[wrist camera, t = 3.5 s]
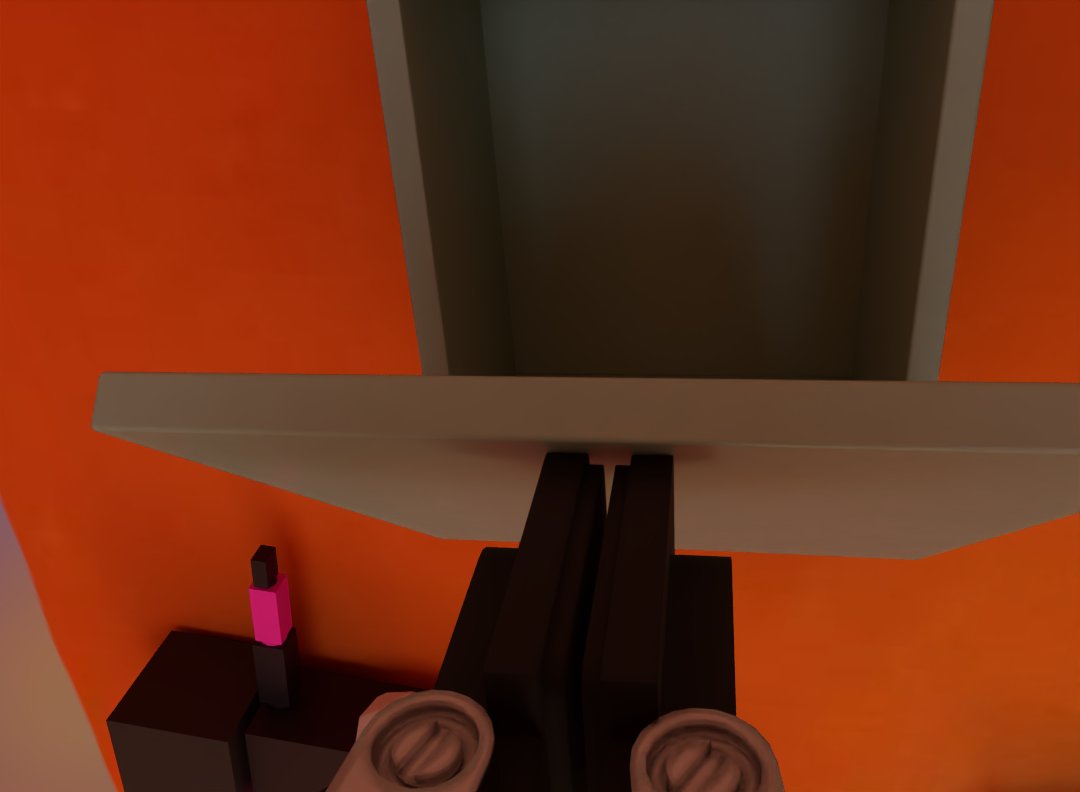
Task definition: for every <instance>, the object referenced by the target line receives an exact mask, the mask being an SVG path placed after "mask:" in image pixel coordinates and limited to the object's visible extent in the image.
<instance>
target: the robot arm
mask: <svg viewBox="0 0 1080 792" xmlns="http://www.w3.org/2000/svg"><path fill="white" fill-rule="evenodd" d="M319 792H785V790H784V786H783V782H782V778H781V774H780V770H779V767H778V763H777V760H776V758H775V756H774V753H773V751H772V749H771V747H770V745H769V743H768V742H767V741H766V740H765V738H764V737H763V736H762V735H761V734H760V733H759V732H758V731H757V730H756V729H755V728H754V727H753V726H751V725H750V724H748V723H746V722H745V721H743V720H741V719H740V718H738V717H737V716H736V695H735V660H734V625H733V590H732V560H731V557H719V556H695V555H675V528H674V458H673V456H663V455H632V457H631V463H630V465H616V466H615V471H614V477H613V483H612V489H611V495H610V501H609V507H608V513H607V506H606V486H605V470H604V465H596V464H590V460H589V456H588V454H578V453H547V454H546V456H545V459H544V462H543V465H542V469H541V472H540V476H539V479H538V483H537V486H536V489H535V493H534V496H533V500H532V503H531V507H530V510H529V514H528V517H527V520H526V524H525V527H524V531H523V534H522V538H521V541H520V544H519V548H497V547H486V548H484V549H483V550H482V552H481V555H480V557H479V559H478V562H477V565H476V568H475V571H474V574H473V577H472V580H471V582H470V585H469V588H468V591H467V594H466V597H465V600H464V603H463V606H462V609H461V611H460V614H459V617H458V620H457V623H456V626H455V629H454V632H453V635H452V637H451V640H450V643H449V646H448V649H447V652H446V655H445V658H444V661H443V664H442V666H441V669H440V672H439V675H438V678H437V681H436V684H435V687H434V690H428V691H423V692H417V693H412V694H409V695H407V696H404V697H402V698H400V699H397V700H395V701H393V702H391V703H390V704H388V705H387V706H386V707H384V708H383V709H382V710H380V711H379V712H377V713H376V714H375V715H374V717H373V718H372V719H371V720H370V721H369V723H368V724H367V725H366V726H365V728H364V729H363V730H362V732H361V734H360V735H359V737H358V739H357V740H356V742H355V744H354V745H353V747H352V749H351V750H350V752H349V754H348V755H347V757H346V759H345V760H344V762H343V764H342V765H341V767H340V769H339V770H338V772H337V774H336V775H335V777H334V779H333V780H332V782H331V784H330V785H329V786H328V787H326V788H325V789H323V790H321V791H319Z"/></svg>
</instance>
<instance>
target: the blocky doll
mask: <svg viewBox="0 0 1080 792" xmlns="http://www.w3.org/2000/svg"><path fill="white" fill-rule="evenodd" d="M251 567H252V575H253V583H252V584H251V586H250V587H249V595H250V602H251V610H252V617H253V625H254V632H255V641H254V643H253V644H249V643H243V642H237V641H231V640H225V639H219V638H213V637H207V636H201V635H195V634H190V633H184V632H178V631H172V630H171V632H170V633H169V635H168V636H167V637H166V639H165V640H164V641H163V643H162V644H161V646H160V647H159V648H158V650H157V651H156V652H155V654H154V655H153V657H152V658H151V659H150V661H149V662H148V664H147V665H146V666H145V668H144V669H143V670H142V672H141V673H140V675H139V676H138V677H137V679H136V680H135V681H134V683H133V684H132V686H131V687H130V688H129V690H128V691H127V692H126V694H125V695H124V697H123V698H122V699H121V701H120V702H119V703H118V705H117V706H116V708H115V709H114V710H113V712H112V713H111V714H110V716H109V717H108V719H107V720H106V721H107V725H108V729H109V733H110V737H111V741H112V745H113V749H114V753H115V756H116V760H117V764H118V768H119V772H120V776H121V780H122V784H123V788H124V791H125V792H319V791H321V790H323V789H325V788H326V787H328V786H329V785H330V784H331V782H332V780H333V779H334V777H335V775H336V774H337V772H338V770H339V769H340V767H341V765H342V764H343V762H344V760H345V759H346V757H347V755H348V754H349V752H350V750H351V749H352V747H353V745H354V744H355V742H356V740H357V739H358V737H359V735H360V734H361V732H362V730H363V729H364V728H365V726H366V725H367V724H368V723H369V721H370V720H371V719H372V718H373V717H374V715H375V714H376V713H377V712H379V711H380V710H382V709H383V708H384V707H386V706H387V705H388V704H390V703H391V702H393V701H395V700H397V699H400V698H402V697H404V696H407V695H409V694H412V693H417V692H423V691H428V690H426V689H420V688H414V687H408V686H402V685H397V684H391V683H385V682H379V681H373V680H367V679H361V678H355V677H349V676H343V675H337V674H331V673H326V672H320V671H314V670H308V669H302V668H300V662H299V653H298V643H297V633H296V627H292V617H291V608H290V598H289V589H288V580H287V574H280V573H278V565H277V557H276V548H275V547H272V546H266V545H261V546H260V547H259V549H258V550H257V551H256V553H255V554H254V556H253V557H252V559H251Z"/></svg>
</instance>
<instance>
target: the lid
mask: <svg viewBox="0 0 1080 792" xmlns="http://www.w3.org/2000/svg"><path fill="white" fill-rule="evenodd" d="M91 426H92V429H93V430H95V431H97V432H101V433H104V434H107V435H110V436H113V437H117V438H120V439H123V440H126V441H129V442H133V443H136V444H139V445H142V446H146V447H149V448H152V449H155V450H158V451H162V452H165V453H168V454H171V455H174V456H178V457H181V458H184V459H187V460H190V461H194V462H197V463H200V464H203V465H206V466H210V467H213V468H216V469H219V470H222V471H226V472H229V473H232V474H235V475H238V476H242V477H245V478H248V479H251V480H254V481H258V482H261V483H264V484H267V485H270V486H274V487H277V488H280V489H283V490H286V491H290V492H293V493H296V494H299V495H303V496H306V497H309V498H312V499H315V500H319V501H322V502H325V503H328V504H331V505H335V506H338V507H341V508H344V509H347V510H351V511H354V512H357V513H360V514H363V515H367V516H370V517H373V518H376V519H379V520H383V521H386V522H389V523H392V524H395V525H399V526H402V527H405V528H408V529H411V530H415V531H418V532H421V533H424V534H427V535H431V536H434V537H437V538H440V539H462V540H485V541H507V542H520V541H521V538H522V534H523V531H524V527H525V524H526V520H527V517H528V514H529V510H530V507H531V503H532V500H533V496H534V493H535V489H536V486H537V483H538V479H539V476H540V472H541V469H542V465H543V462H544V459H545V456H546V454H547V453H578V454H588V456H589V460H590V464H596V465H604V470H605V486H606V506H607V513H608V507H609V501H610V495H611V489H612V483H613V477H614V471H615V466H616V465H630V463H631V457H632V455H663V456H673V458H674V528H675V549H687V550H710V551H732V552H755V553H777V554H800V555H822V556H845V557H867V558H890V559H912V560H918V559H921V558H925V557H928V556H932V555H935V554H938V553H942V552H945V551H949V550H952V549H956V548H959V547H963V546H966V545H969V544H973V543H976V542H980V541H983V540H987V539H990V538H994V537H997V536H1000V535H1004V534H1007V533H1011V532H1014V531H1018V530H1021V529H1025V528H1028V527H1031V526H1035V525H1038V524H1042V523H1045V522H1049V521H1052V520H1056V519H1059V518H1062V517H1066V516H1069V515H1073V514H1076V513H1080V383H1037V382H951V381H864V380H778V379H692V378H606V377H520V376H433V375H347V374H261V373H175V372H103V373H101V374H100V376H99V381H98V387H97V393H96V399H95V405H94V411H93V416H92V422H91Z"/></svg>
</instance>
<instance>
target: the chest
mask: <svg viewBox="0 0 1080 792" xmlns="http://www.w3.org/2000/svg"><path fill="white" fill-rule="evenodd" d="M994 1H995V0H366V4H367V10H368V17H369V23H370V30H371V37H372V43H373V50H374V56H375V63H376V70H377V76H378V83H379V90H380V96H381V103H382V109H383V116H384V123H385V129H386V136H387V142H388V149H389V156H390V162H391V169H392V176H393V182H394V189H395V195H396V202H397V209H398V215H399V222H400V228H401V235H402V242H403V248H404V255H405V262H406V268H407V275H408V281H409V288H410V295H411V301H412V308H413V314H414V321H415V328H416V334H417V341H418V348H419V354H420V361H421V367H422V374H423V375H433V376H520V377H606V378H692V379H778V380H864V381H938V377H939V370H940V364H941V357H942V350H943V344H944V337H945V330H946V323H947V317H948V310H949V303H950V297H951V290H952V283H953V277H954V270H955V263H956V256H957V250H958V243H959V236H960V230H961V223H962V216H963V209H964V203H965V196H966V189H967V183H968V176H969V169H970V162H971V156H972V149H973V142H974V136H975V129H976V122H977V115H978V109H979V102H980V95H981V89H982V82H983V75H984V69H985V62H986V55H987V48H988V42H989V35H990V28H991V22H992V15H993V8H994Z"/></svg>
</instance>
